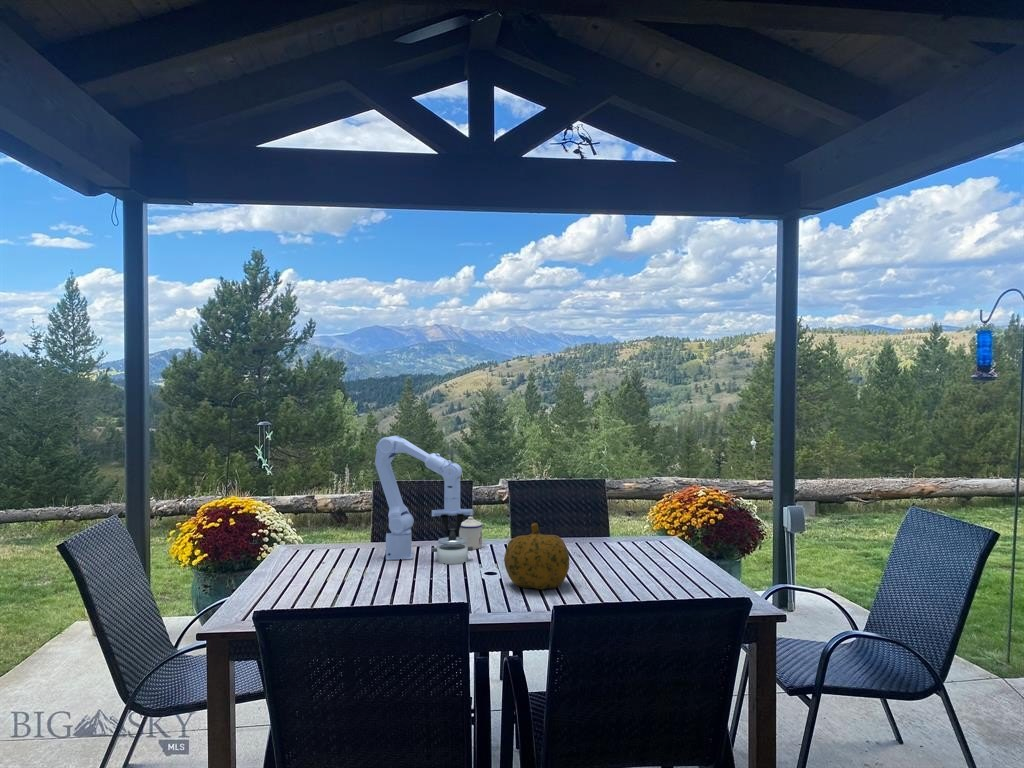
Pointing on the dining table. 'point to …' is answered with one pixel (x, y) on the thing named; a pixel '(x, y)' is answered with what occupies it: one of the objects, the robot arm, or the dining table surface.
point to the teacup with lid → (471, 533)
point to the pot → (452, 553)
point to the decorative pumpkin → (537, 560)
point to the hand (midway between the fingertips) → (452, 535)
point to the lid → (452, 538)
